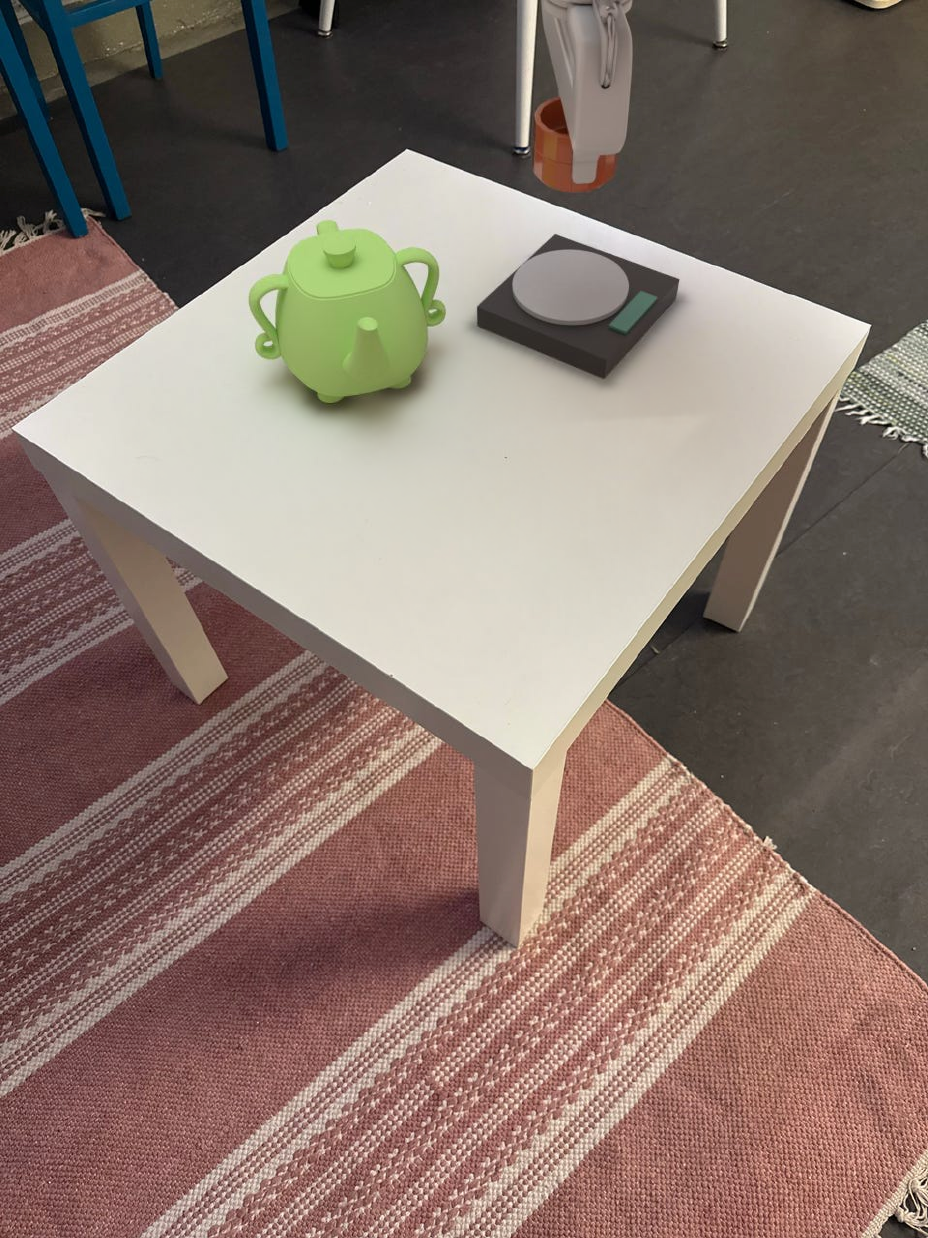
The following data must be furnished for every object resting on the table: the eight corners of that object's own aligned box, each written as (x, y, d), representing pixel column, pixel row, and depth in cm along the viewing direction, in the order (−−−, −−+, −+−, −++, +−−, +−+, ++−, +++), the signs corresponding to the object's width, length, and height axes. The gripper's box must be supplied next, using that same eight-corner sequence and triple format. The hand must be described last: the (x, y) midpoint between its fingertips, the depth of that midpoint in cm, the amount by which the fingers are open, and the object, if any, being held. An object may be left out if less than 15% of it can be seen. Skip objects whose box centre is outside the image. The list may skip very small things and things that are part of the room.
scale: (676, 298, 89) (680, 273, 87) (604, 379, 83) (607, 354, 81) (553, 252, 94) (555, 227, 92) (476, 325, 88) (476, 300, 86)
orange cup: (608, 148, 77) (614, 91, 73) (621, 193, 73) (628, 135, 69) (528, 153, 77) (530, 96, 73) (537, 198, 73) (539, 140, 69)
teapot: (478, 357, 85) (477, 232, 75) (386, 447, 79) (370, 325, 69) (344, 298, 91) (325, 175, 81) (247, 378, 84) (213, 255, 74)
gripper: (665, 14, 56) (636, 222, 68) (614, -109, 68) (597, 86, 79) (563, 19, 56) (551, 227, 67) (529, -105, 68) (524, 90, 79)
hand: (575, 150), depth 73 cm, fingers closed on orange cup, 7 cm apart
